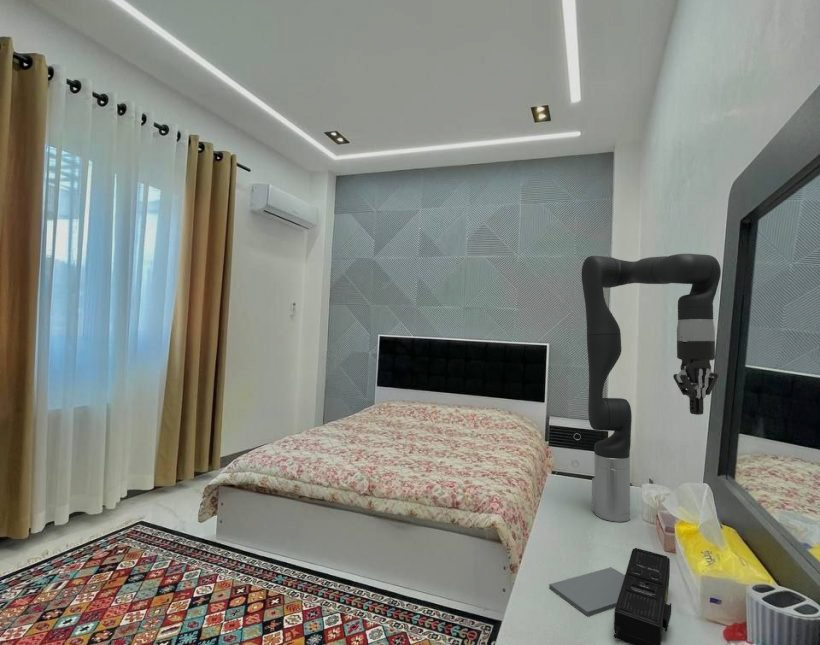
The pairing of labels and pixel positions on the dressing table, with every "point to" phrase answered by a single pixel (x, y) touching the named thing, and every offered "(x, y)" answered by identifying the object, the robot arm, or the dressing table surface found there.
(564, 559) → the dressing table surface
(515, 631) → the dressing table surface
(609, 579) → the charcoal pad
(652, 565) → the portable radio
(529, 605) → the dressing table surface
